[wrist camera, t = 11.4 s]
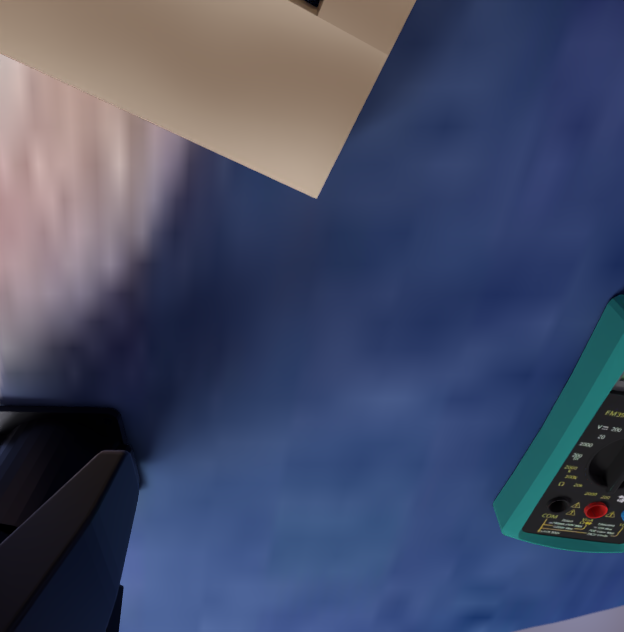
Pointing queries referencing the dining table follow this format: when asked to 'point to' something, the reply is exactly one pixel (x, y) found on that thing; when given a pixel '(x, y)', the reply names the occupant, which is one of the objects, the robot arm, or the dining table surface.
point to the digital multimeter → (576, 456)
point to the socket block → (220, 69)
